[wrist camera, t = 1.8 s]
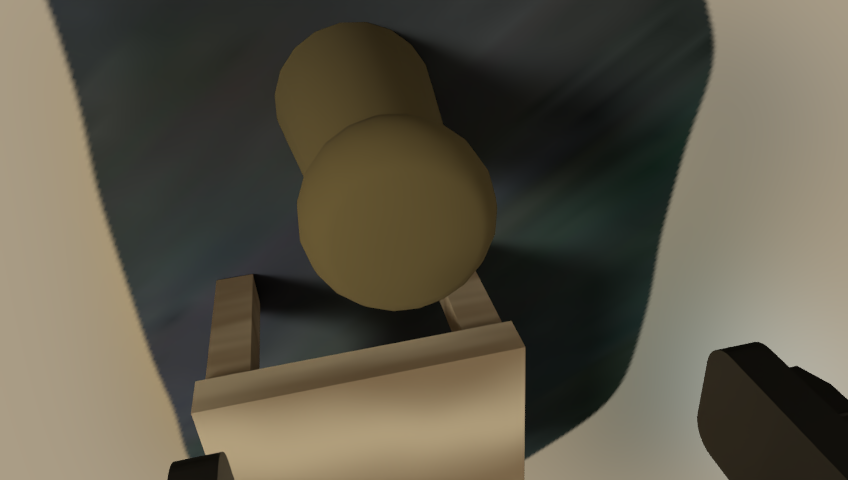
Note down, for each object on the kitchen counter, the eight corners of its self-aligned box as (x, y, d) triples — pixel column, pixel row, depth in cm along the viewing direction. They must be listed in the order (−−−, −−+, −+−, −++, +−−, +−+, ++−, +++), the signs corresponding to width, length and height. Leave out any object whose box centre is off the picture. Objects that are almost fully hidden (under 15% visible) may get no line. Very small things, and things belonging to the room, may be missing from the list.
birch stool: (209, 276, 27) (191, 413, 21) (464, 232, 29) (525, 347, 22) (261, 457, 33) (260, 611, 26) (472, 412, 35) (523, 547, 28)
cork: (460, 64, 25) (576, 185, 16) (390, 196, 27) (456, 371, 18) (314, -9, 23) (348, 83, 14) (250, 142, 25) (242, 310, 16)
